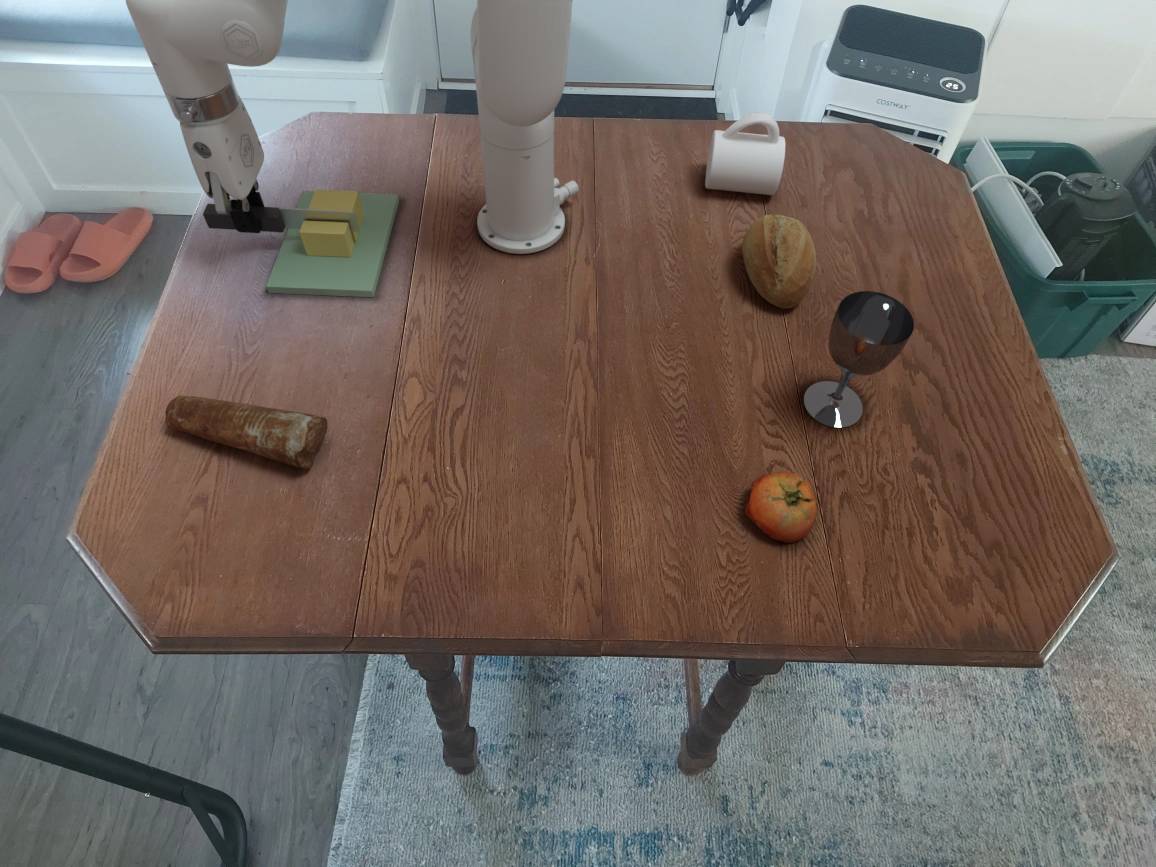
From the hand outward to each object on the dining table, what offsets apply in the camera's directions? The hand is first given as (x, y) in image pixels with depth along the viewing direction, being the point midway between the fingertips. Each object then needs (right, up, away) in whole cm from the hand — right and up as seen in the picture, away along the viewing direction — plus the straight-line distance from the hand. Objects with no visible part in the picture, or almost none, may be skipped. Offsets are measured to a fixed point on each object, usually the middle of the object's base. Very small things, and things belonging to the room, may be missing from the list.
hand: (252, 223), depth 102 cm
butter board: (+10, -2, +4) cm, 11 cm away
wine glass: (+75, -25, -10) cm, 80 cm away
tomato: (+66, -37, -19) cm, 78 cm away
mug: (+69, +9, +14) cm, 71 cm away
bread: (+6, -30, -15) cm, 34 cm away
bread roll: (+71, -7, +3) cm, 71 cm away
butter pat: (+10, -3, +1) cm, 11 cm away
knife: (+4, 0, 0) cm, 4 cm away
